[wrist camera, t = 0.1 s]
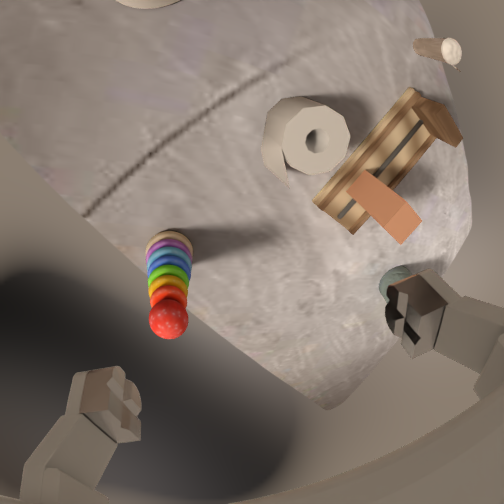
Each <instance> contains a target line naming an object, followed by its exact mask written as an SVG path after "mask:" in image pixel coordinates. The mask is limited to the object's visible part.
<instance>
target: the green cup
mask: <svg viewBox="0 0 504 504" xmlns="http://www.w3.org/2000/svg"><path fill="white" fill-rule="evenodd" d="M410 276H412V274H411V273H410V272H409V270H408V269H407V268H405V267H403V266H398V267H395V268H392V269H391V270H389V271H388V272H387V273H386V274H385V275H384V276H383V277H382V279H381V281H380V283H379V291H380V293H381V294H382V296H383V297H384V299H385V301H386V303H388V302H389V299H388V297H387V296H386V292H387V288H388V286H389V285H390V284H393V283H395V282H398V281H400V280H403V279H405V278H407V277H410Z"/></svg>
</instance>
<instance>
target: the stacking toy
mask: <svg viewBox="0 0 504 504" xmlns="http://www.w3.org/2000/svg"><path fill="white" fill-rule="evenodd" d="M192 257H193V247H192V245H191V243H190V241H189V240H188V239H187V238H186V237H185V236H184V235H182V234H180V233H178V232H174V231H165V232H161V233H158V234H157V235H155V236H154V237H152V238H151V240H150V241H149V242H148V244H147V247H146V264H147V270H148V287H149V296H150V304H151V307H152V309H151V311H150V314H149V323H150V327H151V329H152V330H153V332H154V333H155V334H156V335H158V336H160V337H162V338H165V339H173V338H177V337H179V336H180V335H182V333H184V332H185V330H186V328H187V326H188V314H187V312H186V306H187V295H188V290H187V289H188V286H189V281H190V277H191V269H192Z"/></svg>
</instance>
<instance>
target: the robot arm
mask: <svg viewBox="0 0 504 504" xmlns="http://www.w3.org/2000/svg"><path fill="white" fill-rule="evenodd" d="M116 1H118V2H119V3H121V4H123V5H126V6H129V7H133V8H140V9H151V8H159V7H163V6H167V5H170V4H173V3H175V2H178V1H180V0H116ZM386 296H387V297H388V299H389V302H388V303H387V305H386V307H385V317H386V321H387V324H388V326H389V328H390V330H391V331H392V333H393V334H394V335H396V336H398V337H401V338H402V340H401V345H402V347H403V348H404V349H405V351H406V352H407V354H408V355H409V356H410V358H411V359H413V358H416V357H417V356H420V355H422V354H424V353H426V352H428V351H430V350H432V349H434V350H435V351H437V352H438V353H440V354H442V355H444V356H446V357H448V358H450V359H452V360H454V361H456V362H458V363H460V364H462V365H464V366H466V367H468V368H470V369H472V370H473V371H476V372H478V373H479V374H480V375H479V377H478V379H477V381H476V383H475V385H474V388H473V390H474V391H475V393H476V394H477V396H478V397H479V399H480V400H479V401H478V402H477V403H475V404H474V405H473V406H471V407H469V408H468V409H466V410H465V411H463V412H462V413H460V414H459V415H457V416H456V417H454V418H453V419H451V420H449V421H448V422H446V423H444V424H443V425H441V426H440V427H438V428H436V429H434V430H433V431H431V432H429V433H427V434H425V435H424V436H422V437H420V438H418V439H416V440H414V441H413V442H411V443H409V444H407V445H405V446H403V447H401V448H399V449H397V450H395V451H393V452H391V453H388V454H386V455H384V456H382V457H380V458H378V459H376V460H373V461H371V462H368V463H366V464H364V465H361V466H359V467H357V468H354V469H352V470H349V471H346V472H344V473H341V474H339V475H336V476H333V477H330V478H327V479H324V480H322V481H318V482H315V483H312V484H309V485H306V486H302V487H299V488H296V489H292V490H289V491H285V492H281V493H277V494H273V495H269V496H265V497H260V498H256V499H251V500H247V501H241V502H236V503H230V504H504V308H502V307H499V306H496V305H492V304H490V303H486V302H483V301H480V300H477V299H474V298H470V297H467V296H464V297H461V296H460V295H459V294H458V293H457V292H455V291H454V290H453V289H452V288H451V287H450V286H449V285H448V284H447V283H446V282H445V281H444V280H443V279H442V278H441V277H440V276H439V275H437V274H436V273H435V272H434V271H433V270H431V269H426V270H424V271H422V272H419V273H417V274H415V275H412V276H410V277H407V278H405V279H403V280H400V281H398V282H395V283H393V284H390V285H389V286H388V288H387V292H386ZM140 411H141V399H140V394H139V392H138V390H137V388H136V386H135V385H134V383H133V382H131V381H129V380H127V379H125V372H124V371H123V370H122V369H121V368H120V367H119V366H114V367H109V368H103V369H96V370H90V371H85V372H79V373H76V374H75V375H74V377H73V381H72V385H71V389H70V394H69V398H68V403H67V408H66V413H65V416H61V417H60V418H59V420H58V421H57V422H56V424H55V425H54V426H53V427H52V429H51V430H50V431H49V433H48V434H47V435H46V436H45V438H44V439H43V440H42V442H41V443H40V444H39V446H38V447H37V448H36V450H35V451H34V452H33V454H32V455H31V456H30V458H29V459H28V460H27V462H26V463H25V464H24V470H23V476H22V484H21V491H20V500H18V499H14V498H9V497H5V496H2V495H0V504H109V499H108V498H107V497H106V496H105V495H103V494H101V493H99V492H97V491H95V488H96V486H97V484H98V482H99V480H100V478H101V476H102V474H103V472H104V470H105V468H106V466H107V464H108V462H109V460H110V459H111V456H112V455H113V453H114V451H115V449H116V447H117V444H116V443H125V442H132V441H139V440H141V422H140V420H139V419H138V418H137V415H138V414H139V412H140Z"/></svg>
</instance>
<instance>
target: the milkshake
mask: <svg viewBox="0 0 504 504" xmlns="http://www.w3.org/2000/svg"><path fill="white" fill-rule="evenodd" d="M413 49H414V51H415V53H416V54H418V55H420V56H423V57H427V58H431V59H435V60H438V61H442V62H445V63H448V64H450V65H452V66H453V67H455V66H454V65H456V64H458V63H459V61H460V60H461V57H462V50H461V47H460V45H459V44H458V42H457V41H456V40H455V39H452V38H418V39H415V40H414V42H413ZM455 68H456V67H455ZM456 69H457V68H456ZM457 70H458V69H457ZM458 71H460V70H458Z"/></svg>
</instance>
